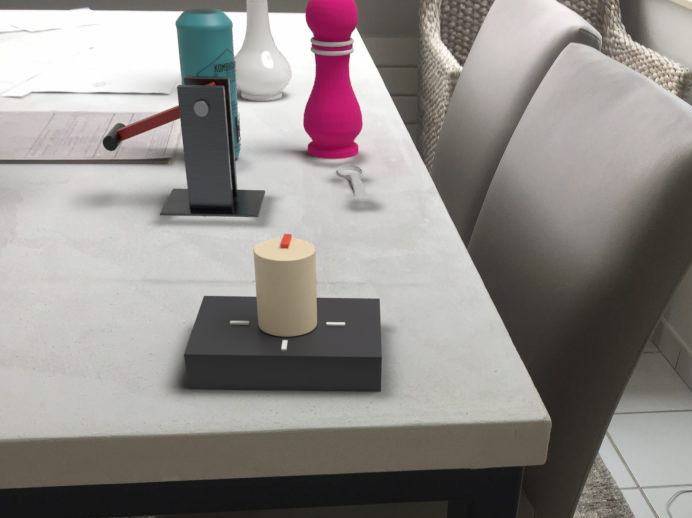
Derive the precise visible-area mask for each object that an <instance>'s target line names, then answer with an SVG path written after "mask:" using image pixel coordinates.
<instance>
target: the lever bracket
mask: <svg viewBox="0 0 692 518" xmlns="http://www.w3.org/2000/svg"><path fill="white" fill-rule="evenodd" d="M212 82H215V84H216V86H213V85H207V84H209V83H212ZM176 92H177V100H178V105H179V112H180V119H179V121H180V131H181V139H182V149H183V157H184V167H185V176H186V187H187V188H175V187H174V188H172V190H171V192H170V194H169V196H168V198H167V199H166V201H165V203H164V205H163V207H162V209H161V210H160V212H159V216H165V217H166V216H171V217H172V216H175V217H181V216H182V217H222V218H223V217H225V218H226V217H229V218H259V217H260V214H261V209H262V206H263V202H264V199H265V195H266V190H265V189H239V188H238V177H237V164H236V163H237V162H236V158H235V149H234V135H233V121H232V108H231V94H230V80H229V77H219V76H185V77H184V85H182V84H178V85H177V86H176Z"/></svg>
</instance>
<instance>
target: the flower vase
mask: <svg viewBox="0 0 692 518" xmlns="http://www.w3.org/2000/svg"><path fill="white" fill-rule="evenodd" d="M245 2H246V29H245V35H244V39H243V42H242V45H241V47H240V49H239V50H238V51H237V53H236V54H235V55H234V56H235V57H234V60H235V62H236V63H235V65H236V68H235V69H236V71H235V76H236V82H237V84H236V89H238V90H240V91H241V93H240V96H241V98H243V99H245V100H248V101H255V102H269V101H270V102H271V101H276V100H279V99H281V98H282V97H283V92H282V91H283V90H284V89H286V88H287V87H288V86H289V85H290V83H291V81H292V78H293V73H292V67H291V65H290V62H289V61H288V59H287V58H286V57H285V55H284V54H283V53H282V52H281V51H280V50H279V48H278V46H277V44H276V42H275V39H274V37H273V34H272V30H271V26H270V25H271V23H270V17H269V5H268V0H246V1H245ZM235 58H236V59H235Z"/></svg>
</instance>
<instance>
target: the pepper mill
mask: <svg viewBox="0 0 692 518" xmlns="http://www.w3.org/2000/svg"><path fill="white" fill-rule="evenodd" d="M304 16H305V17H304V18H305V23H306V26H307V27H308V28H309V30H310V31H311V33H312V35H313V36H312V37H311V38H310V40H309V41H310V43H311V47H310V51H311V53H313V54H314V62H315V63H314V64H315V77H314V80H313V81H314V82H313V85H312V88H311V91H310V94H309V96H308V99H307V101H306V103H305V107H304V112H303V119H302V121H303V123H302V126H303V129H304V131H305V133H306V134H307V135H308V137H309V138H310V139H311V141H310V142H309V143H308V145H307V153H308V154H309V155H311V156H313V157H316V158H318V159H319V158H320V159H326V160H341V159H349V158H353V157H356V156H357V155H358V154H359V145H358V143H357V142H356V141H355V140H356V138H358V137H359V135H360V133H361V132H362V130H363V126H364V124H363V123H364V122H363V114H362V110H361V106H360V104H359V101H358V99H357V96H356V94H355V91H354V89H353V86H352V81H351V77H350V61H351V60H350V59H351V54H353V53H354V51H355V48H354V43H355V40H354V38H352V35H353V33H354V31H355V30H356V28H357V26H358V23H359V10H358V6H357V3H356V1H355V0H308V1H307V4H306V8H305V15H304Z"/></svg>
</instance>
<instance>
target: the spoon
mask: <svg viewBox="0 0 692 518" xmlns="http://www.w3.org/2000/svg"><path fill="white" fill-rule="evenodd" d="M344 171H354V172H357V173H359V174H357V173H351V174H350V173H349V174H342V172H344ZM336 174H337V176H338V177H340V178H343V179H346V180H348V181H349V182H350V185H351V187H352V191H353V195H354V196H353V197H354V198H355V199H369V198H370V195H369V194H368V192H367V190H366V188H365V186H364V184H363V182H362V180H361V179H360V178H362V177H363V175H364V171H363V169H362V168H361V167H360V166H358V165H356V164H351V163H347V164H346V163H345V164H341V165H340V166H338V167H337V170H336Z"/></svg>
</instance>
